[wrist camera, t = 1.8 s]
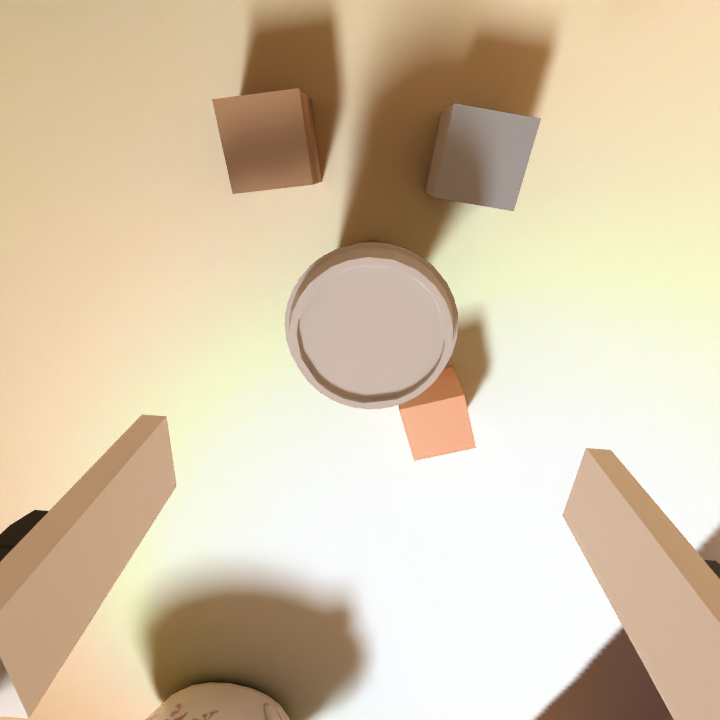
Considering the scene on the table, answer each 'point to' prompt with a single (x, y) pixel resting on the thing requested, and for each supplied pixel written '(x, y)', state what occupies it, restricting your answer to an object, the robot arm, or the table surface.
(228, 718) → the chamber pot
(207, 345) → the table surface
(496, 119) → the slate grey cube
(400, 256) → the disposable coffee cup
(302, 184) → the walnut cube
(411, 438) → the terracotta cube
